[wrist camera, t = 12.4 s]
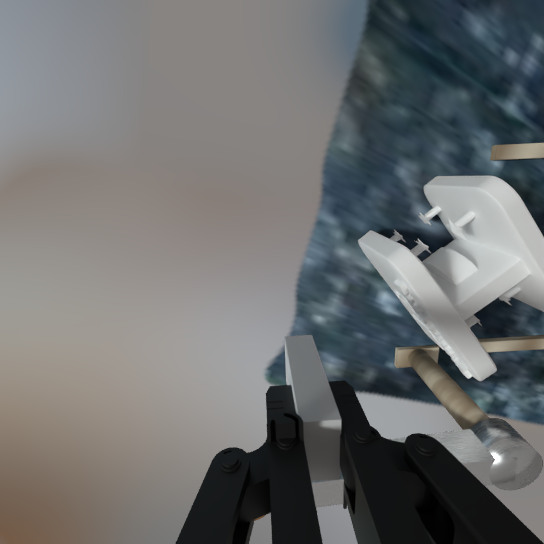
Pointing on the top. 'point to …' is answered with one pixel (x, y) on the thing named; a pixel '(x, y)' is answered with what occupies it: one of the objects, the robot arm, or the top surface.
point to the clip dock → (427, 356)
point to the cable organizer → (465, 264)
